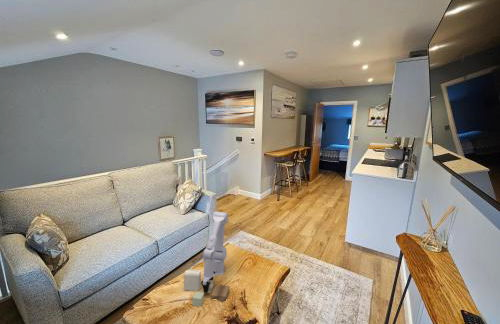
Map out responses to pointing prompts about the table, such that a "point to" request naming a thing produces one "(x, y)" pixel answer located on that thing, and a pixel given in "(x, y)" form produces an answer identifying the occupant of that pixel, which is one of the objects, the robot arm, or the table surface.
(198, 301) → the sage cube
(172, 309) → the table surface
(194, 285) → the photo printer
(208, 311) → the table surface
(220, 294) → the walnut base
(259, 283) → the table surface
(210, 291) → the cream cube
